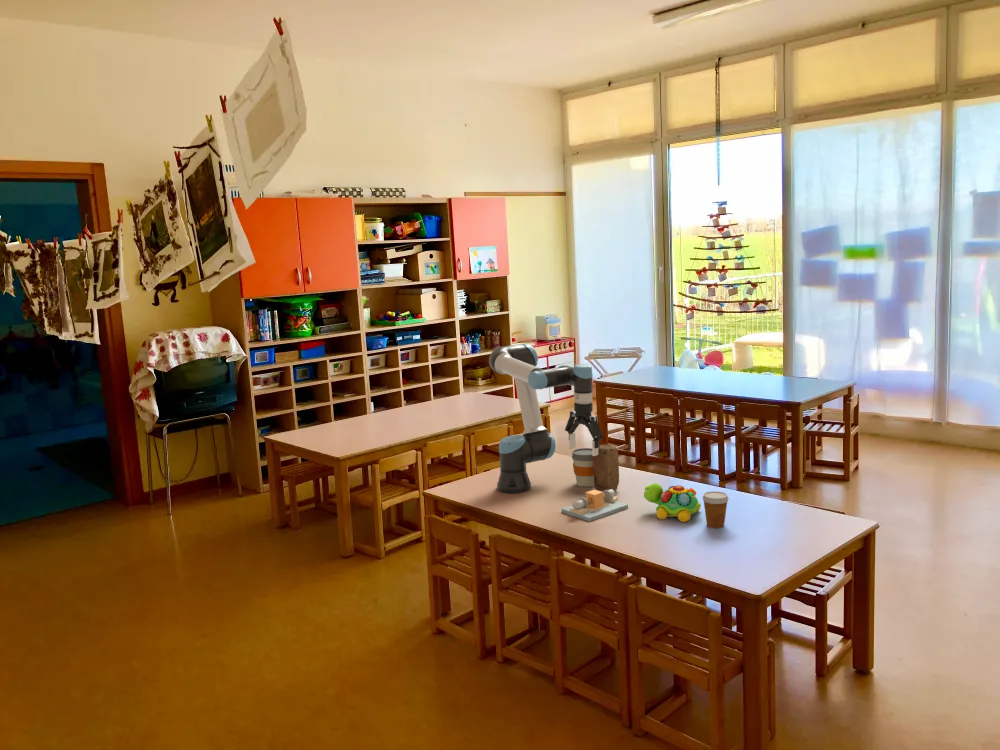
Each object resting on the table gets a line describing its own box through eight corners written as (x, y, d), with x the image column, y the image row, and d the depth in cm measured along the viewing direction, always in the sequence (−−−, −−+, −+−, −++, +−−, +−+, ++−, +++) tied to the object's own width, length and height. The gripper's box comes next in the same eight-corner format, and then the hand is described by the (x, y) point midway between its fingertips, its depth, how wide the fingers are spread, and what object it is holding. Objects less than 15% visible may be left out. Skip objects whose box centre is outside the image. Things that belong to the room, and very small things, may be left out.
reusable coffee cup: (567, 482, 363) (566, 450, 360) (590, 478, 368) (589, 446, 366) (582, 489, 351) (581, 456, 349) (606, 484, 357) (605, 452, 355)
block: (621, 490, 347) (620, 446, 344) (609, 494, 343) (608, 449, 339) (603, 485, 356) (601, 442, 352) (591, 489, 351) (589, 445, 348)
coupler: (581, 507, 323) (581, 493, 322) (599, 502, 329) (598, 488, 328) (590, 510, 319) (590, 496, 318) (608, 504, 325) (607, 490, 324)
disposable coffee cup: (716, 531, 294) (716, 500, 292) (697, 524, 302) (696, 494, 300) (734, 525, 299) (734, 495, 297) (714, 519, 307) (714, 489, 305)
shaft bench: (561, 512, 324) (561, 496, 322) (601, 498, 338) (601, 483, 337) (589, 521, 311) (589, 504, 310) (630, 507, 325) (629, 491, 324)
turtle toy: (651, 504, 328) (651, 476, 327) (707, 511, 316) (707, 483, 314) (636, 516, 314) (636, 488, 312) (694, 525, 302) (694, 495, 300)
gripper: (556, 398, 335) (557, 447, 339) (598, 408, 315) (598, 460, 319) (569, 396, 339) (570, 443, 343) (611, 405, 320) (611, 456, 324)
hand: (583, 451), depth 331 cm, fingers open, 13 cm apart
